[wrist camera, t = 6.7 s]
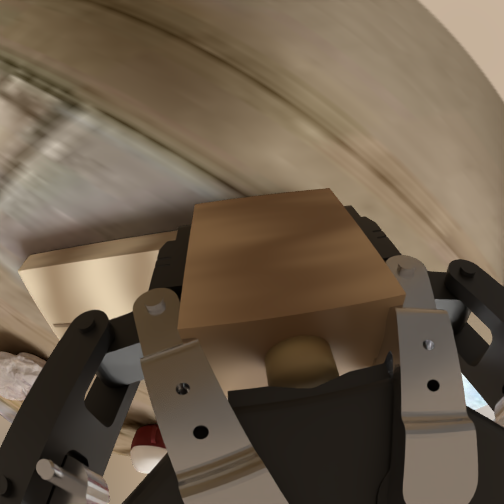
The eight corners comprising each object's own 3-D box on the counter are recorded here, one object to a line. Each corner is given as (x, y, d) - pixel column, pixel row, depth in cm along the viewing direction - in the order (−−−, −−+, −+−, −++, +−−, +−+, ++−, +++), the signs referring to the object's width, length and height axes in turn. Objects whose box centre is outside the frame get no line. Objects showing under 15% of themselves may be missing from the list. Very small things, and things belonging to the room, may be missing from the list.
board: (309, 213, 19) (318, 229, 17) (308, 326, 24) (313, 345, 22) (29, 255, 18) (17, 271, 17) (82, 346, 24) (75, 363, 22)
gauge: (329, 187, 11) (421, 318, 6) (320, 343, 16) (353, 456, 11) (194, 204, 11) (174, 359, 5) (229, 357, 16) (238, 475, 10)
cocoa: (145, 410, 31) (134, 500, 21) (192, 425, 33) (190, 512, 23) (125, 434, 35) (114, 508, 25) (165, 447, 37) (160, 519, 27)
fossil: (37, 377, 21) (78, 422, 27) (48, 341, 24) (83, 391, 30) (-41, 361, 19) (3, 407, 25) (-28, 332, 22) (10, 381, 28)
